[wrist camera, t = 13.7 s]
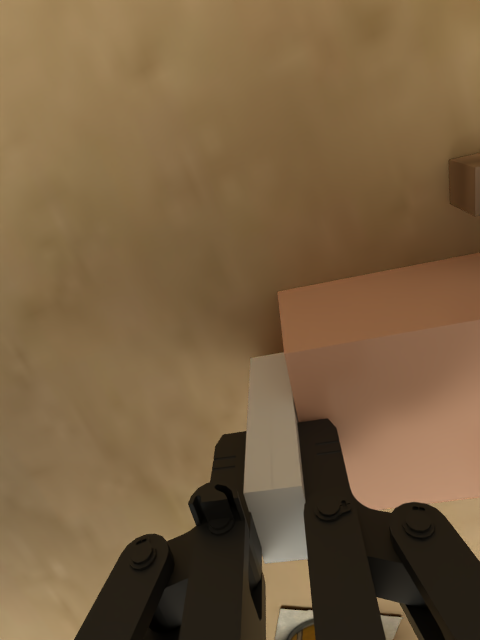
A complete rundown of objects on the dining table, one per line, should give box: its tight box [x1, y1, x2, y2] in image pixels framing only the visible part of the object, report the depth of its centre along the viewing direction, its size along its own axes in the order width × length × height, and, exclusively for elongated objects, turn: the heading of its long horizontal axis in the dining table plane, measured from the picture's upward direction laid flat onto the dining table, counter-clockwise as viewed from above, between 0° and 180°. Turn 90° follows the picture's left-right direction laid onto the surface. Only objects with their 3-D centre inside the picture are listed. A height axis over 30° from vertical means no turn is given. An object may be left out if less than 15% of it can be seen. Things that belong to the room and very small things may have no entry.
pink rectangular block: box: [277, 252, 480, 510], centre depth 16 cm, size 13×7×5 cm, turn 103°
